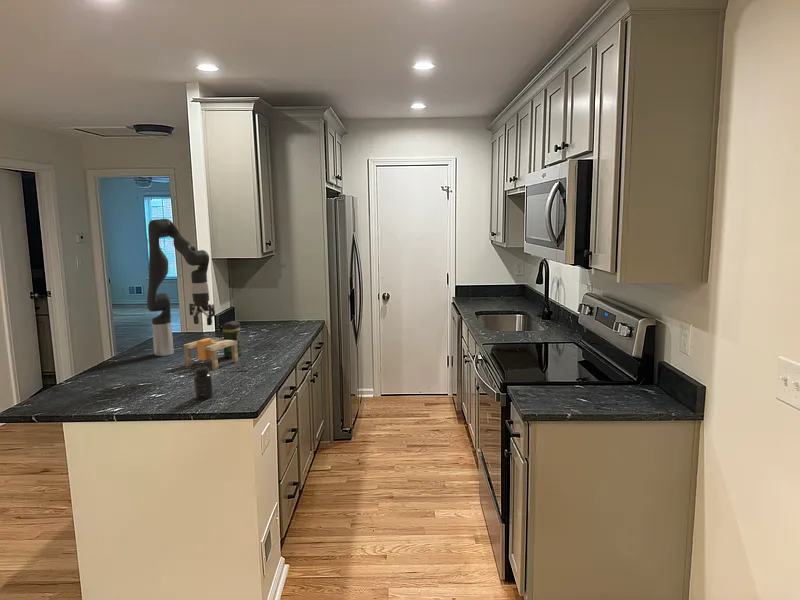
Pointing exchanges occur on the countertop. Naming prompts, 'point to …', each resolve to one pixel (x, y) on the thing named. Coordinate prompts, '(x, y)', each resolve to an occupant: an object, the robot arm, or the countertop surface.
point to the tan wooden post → (203, 349)
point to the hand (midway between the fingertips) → (203, 324)
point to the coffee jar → (232, 337)
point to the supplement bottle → (203, 383)
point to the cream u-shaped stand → (212, 350)
